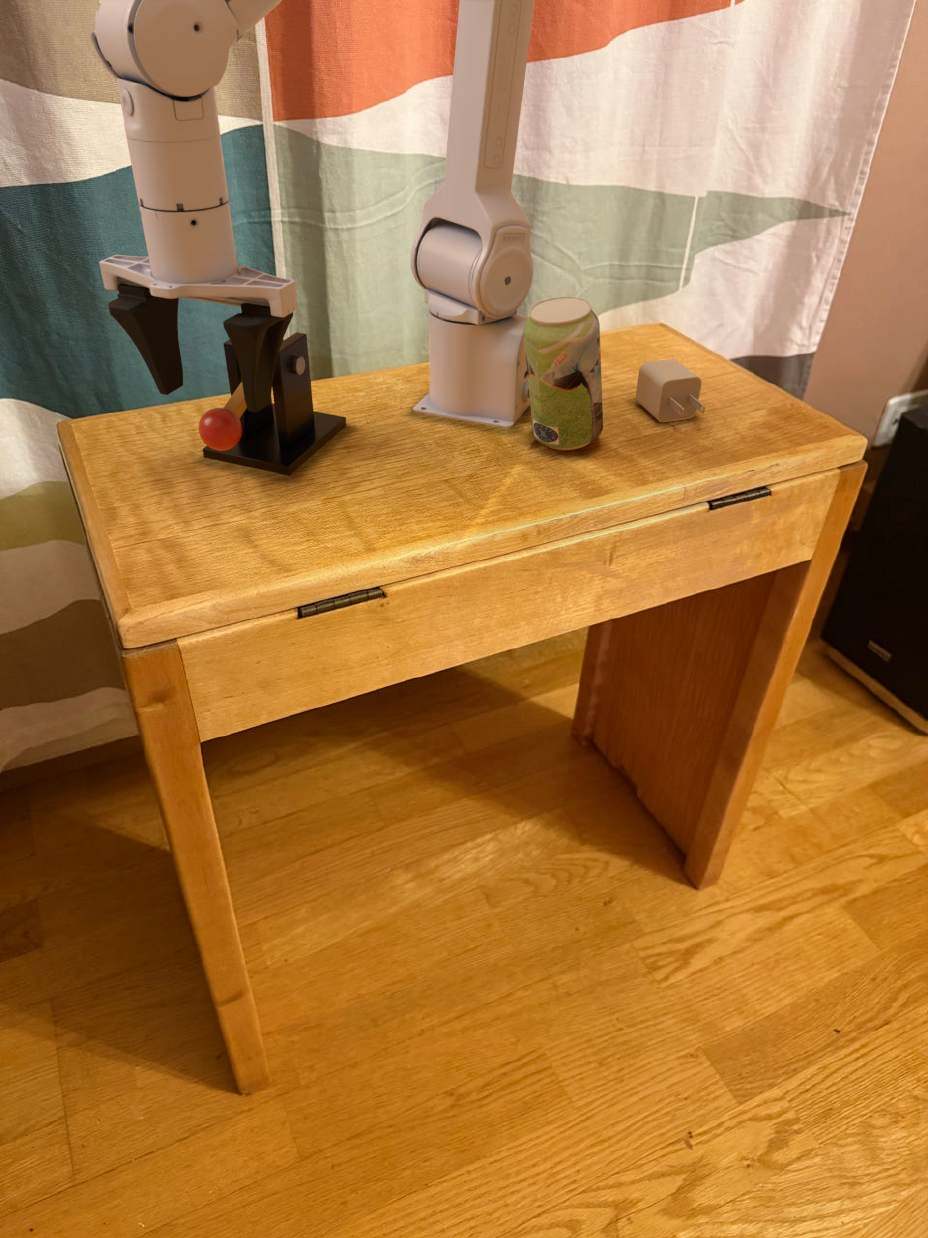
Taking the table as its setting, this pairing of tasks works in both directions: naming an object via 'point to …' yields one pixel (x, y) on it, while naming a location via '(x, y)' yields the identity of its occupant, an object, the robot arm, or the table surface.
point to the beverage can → (564, 372)
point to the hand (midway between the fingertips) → (215, 397)
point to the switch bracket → (280, 415)
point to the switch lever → (224, 423)
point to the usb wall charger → (668, 390)
